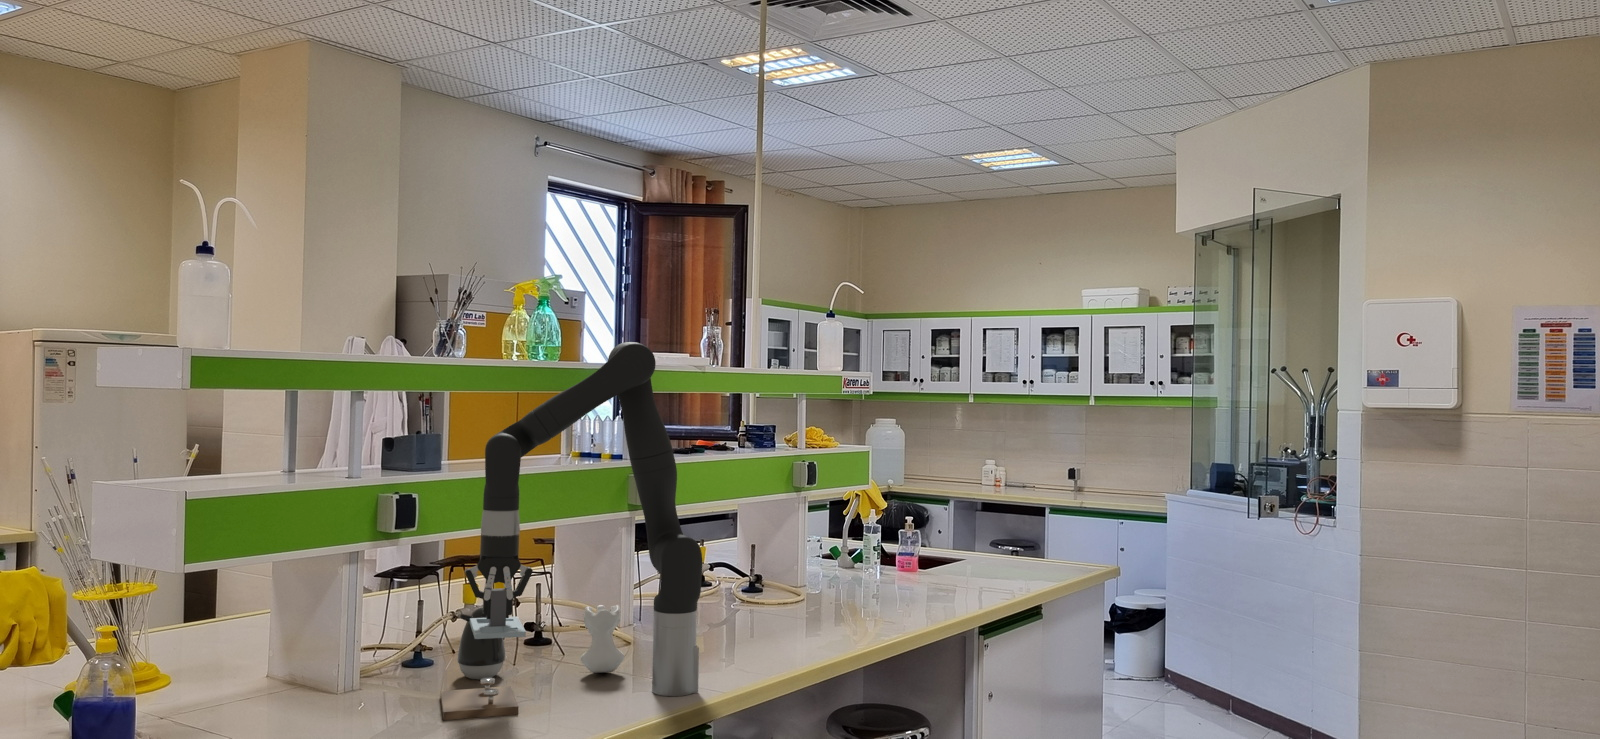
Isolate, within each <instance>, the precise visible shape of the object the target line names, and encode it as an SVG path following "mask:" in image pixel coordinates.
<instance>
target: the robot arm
mask: <svg viewBox="0 0 1600 739" xmlns="http://www.w3.org/2000/svg"><path fill="white" fill-rule="evenodd" d="M656 364H657V362H656V358H655V355H654V353H653V351H652V350H651V349H650V348H649V347H648V346H646V345H644V344H643V343H639V342H634V341H628V342H627V341H626V342H622V343H619V344H617V345H615V346H614V348H612V350H611V351H610V353H609V355H608V357H607V362H605V363H604V364H603V365H601V367H600V368H598V369H597V370H596V371H594V372H593V373H591V375H588V376H587V377H586V378H584V379H582V381H579V382H578V383H575V384H573V385H572V386H570V387H568V388H567V389H565V390H563V391H561V392H558V394H556V395H554V396H552V397H550V398H549V399H547V400H546V401H545V402H543V403H541V404H540V405H538V406H537V407H534V409H531V411H529V412H528V413H527V414H525V416H523V417H522V418H521V419H519V420H517V421H516V422H514V423H512V424H511V425H509V426H508V427H506V428H503V429H502V430H501V431H499V432H497V433H495V434H494V435H493V436H491V438H489V439H488V440H487V442H486V445H485V449H484V461H485V462H484V470H485V471H484V472H485V473H484V474H485V484H484V487H483V488H484V489H483V502H482V505H483V506H482V509H483V510H482V515H481V522H480V526H481V527H480V549H479V550H480V551H479V559H478V562H477V563H476V565H475V566H472V567H470V568H469V567H468V568H467V567H466V568H465V569H464V574H465V576H466V578H467V581H468V583H469V585H470V588H471V591H472V593H473V595H474V597H475V598H478V599H481V600H482V601H483V602H482V608H483V614H484V616H486V619H490V609H491V600H490V595H491V590H492V589H493V588H494V584H498V583H501V584H503V586H504V588H505V589H506V591H507V598H506V618H509V617H510V616H513V615H512V614H513V607H514V606H513V605H514V604H513V603H514V601H513V600H514V599H516V598H517V597H521V596H522V595H523V593H524V591H525V588H526V587H527V585H528V583H529V581H530V580H531V577H532V574H533V571H534V570H533V569H532V567H530V566H526V565H524V564H522V563H521V561H520V559H519V556H520V555H519V553H520V550H519V549H520V532H521V527H520V521H521V520H520V511H519V509H520V486H519V484H520V483H519V482H520V480H519V479H520V472H521V460H522V458H523V457H524V456H525V455H527V454H528V453H530V452H531V451H533V450H534V449H536V447H538V446H540V445H544V444H546V443H547V442H549V441H550V440H552V439H554V438H555V437H557V436H558V435H560V434H561V433H562V432H563V431H565V430H566V429H568V428H570V427H571V426H572V425H574V424H575V423H576V422H578V421H579V420H581V419H582V418H583V417H585V416H586V415H588V414H589V413H590V412H592V411H593V410H594V409H597V407H599V406H601V405H603V404H604V403H606V402H608V401H609V400H611V399H613V398H614V397H616V396H617V399H618V402H619V405H620V407H621V413H622V419H623V425H624V426H623V427H624V434H625V440H626V445H627V450H628V451H627V452H628V457H629V461H630V466H631V471H632V474H633V477H634V482H635V484H636V485H635V486H636V489H637V494H638V497H639V502H640V505H641V509H642V512H643V518H644V521H645V522H644V523H645V530H646V537H647V538H646V539H647V546H648V555H649V559H650V562H651V564H652V566H653V567H654V569H655V570H656V571H657V572H659V574H660V585H659V586H660V588H659V590H658V591H659V592H658V594H656V595H655V597H654V598H653V621H652V622H653V625H652V628H653V629H652V630H653V632H652V636H653V637H652V666H651V668H652V672H651V674H652V675H651V676H652V678H651V692H652V693H653V694H655V695H658V696H663V697H664V696H666V697H679V696H681V697H682V696H687V695H690V694H691V695H692V694H695V693H696V694H697V693H699V672H700V670H699V668H700V666H699V665H700V662H699V661H700V647H699V646H698V645H697V636H698V634H697V628H698V626H697V624H698V623H697V622H698V621H697V620H698V602H699V599H700V596H701V592H702V580H703V578H702V576H703V553H702V549H701V547H700V544H699V543H698V542H697V541H696V540H695V539H694V538H692V537H690V536H687V535H685V534H684V533H683V531H682V527H681V525H680V520H679V517H678V513H677V507H676V498H677V497H676V494H677V483H678V470H677V463H676V459H675V454H674V449H673V446H672V443H671V439H670V436H669V433H668V431H667V428H666V426H665V424H664V421H663V419H662V417H661V415H660V412H659V409H658V407H657V405H656V401H655V397H654V391H653V386H652V379H651V378H652V377H653V375H654V373H655V371H656ZM478 571H479V572H480V573H481V575H482V576H483V577H484V579H485V582H484V590H480V588H479V586H478V584H477V581H476V579H475V578H477V577H478ZM518 571H519V575H520V577H521V578H520V580H519V582H518V584H517V586H516V588H515V589H514V590H513V587H512V580H513V578H514V576H515V575H516V573H517V572H518Z"/></svg>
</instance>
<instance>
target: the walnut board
mask: <svg viewBox="0 0 1600 739" xmlns="http://www.w3.org/2000/svg"><path fill="white" fill-rule="evenodd" d="M479 682H480V685H482V686H484V687H479V688H467V689H466V688H465V689H454V690H451V689H450V690H441V691H440V695H439V696H440V706H441V711H442V719H443V721H446V720H447V721H449V720H461V719H470V718H471V719H473V718H485V717H486V718H487V717H499V716H500V717H501V716H510V715H519V707H520V706H519V704H518V701H517V698H516V696H515V693H514V691H513V688H512V686H511V685H507V686H492V687H491V685H494V684H495V682H496V678H494V677H491V678H482V679H480V681H479Z"/></svg>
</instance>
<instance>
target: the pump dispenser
mask: <svg viewBox="0 0 1600 739" xmlns="http://www.w3.org/2000/svg"><path fill="white" fill-rule="evenodd" d="M459 618H460V619H461V620H463V621H465V622H466V623H465V625H464V628H463V630H462V633H461V636H460V641H459V646H458V651H457V658H456V659H457V660H456V661H457V664H458V665H459V666H458V667H459V669H460V672H461V673H462V675H464V676H465V677H466V678H468V679H470V680H481V679H482V678H494V677H495V676H496V675H498V674H499V673H500V671H501V670H502V668H503V665H504V661H505V660H506V648H505V647H506V646H505V641H504V638H487V639H475V638H474V635H473V632H472V629H471V625H470V618H486V616H484V614H483V607H478V608H476V609H475V610H473V611H472V612H471V614H470V615H468V614H465V613H461V614H460V616H459Z"/></svg>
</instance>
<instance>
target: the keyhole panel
mask: <svg viewBox="0 0 1600 739" xmlns="http://www.w3.org/2000/svg"><path fill="white" fill-rule="evenodd" d="M506 598H507V591H506V589H505V587H503V588H492V590H491V595H490V600H491V609H490V619H486V618H470V625H471V629H472V632H473V635H474V638H475V639H487V638H503V639H504V638H505V639H506V638H507V639H508V638H526V636H527V634H526V629H525V627H524V625H523V624H522V622H521V620H520V618H519V616H509V618H506Z"/></svg>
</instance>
